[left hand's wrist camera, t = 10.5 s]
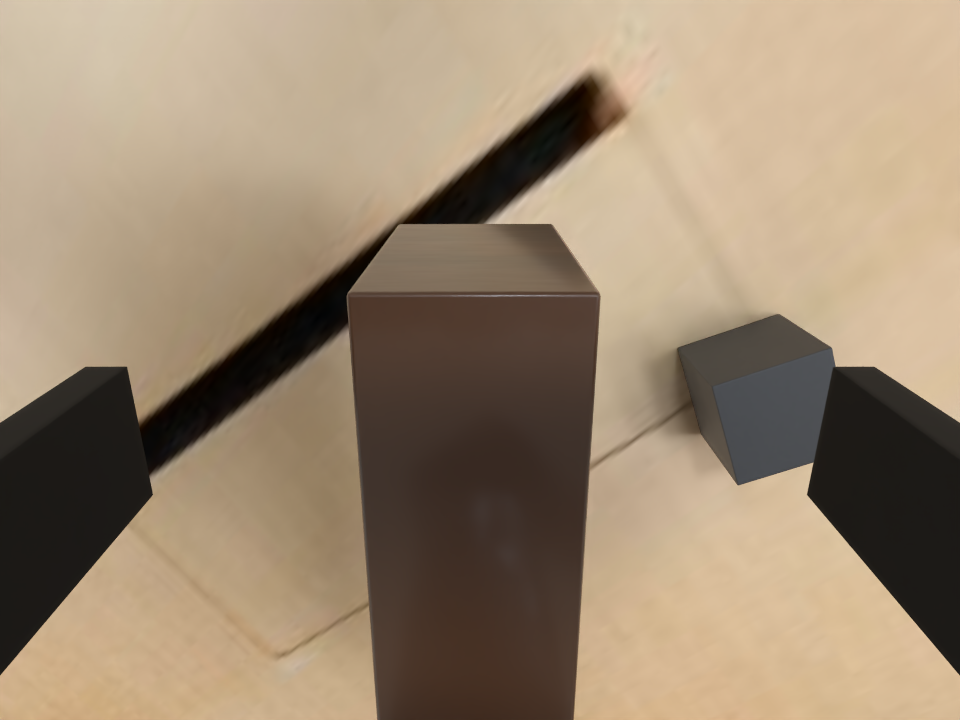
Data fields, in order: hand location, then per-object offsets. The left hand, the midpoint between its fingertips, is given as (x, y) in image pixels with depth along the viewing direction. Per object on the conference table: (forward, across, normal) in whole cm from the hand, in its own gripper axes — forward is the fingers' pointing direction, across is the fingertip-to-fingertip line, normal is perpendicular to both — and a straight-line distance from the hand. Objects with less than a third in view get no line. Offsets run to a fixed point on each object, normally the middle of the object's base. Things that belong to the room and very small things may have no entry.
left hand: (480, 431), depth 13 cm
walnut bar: (+8, 0, -9) cm, 12 cm away
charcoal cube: (+19, +13, -7) cm, 24 cm away
